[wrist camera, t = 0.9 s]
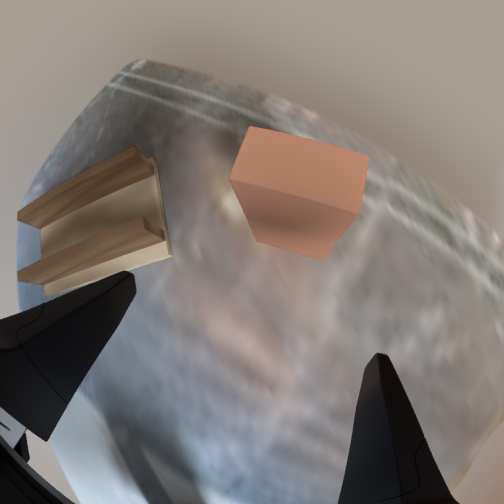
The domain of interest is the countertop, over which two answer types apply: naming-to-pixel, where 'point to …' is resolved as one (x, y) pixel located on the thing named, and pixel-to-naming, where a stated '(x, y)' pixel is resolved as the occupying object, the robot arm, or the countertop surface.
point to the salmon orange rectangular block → (297, 190)
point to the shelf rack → (98, 224)
